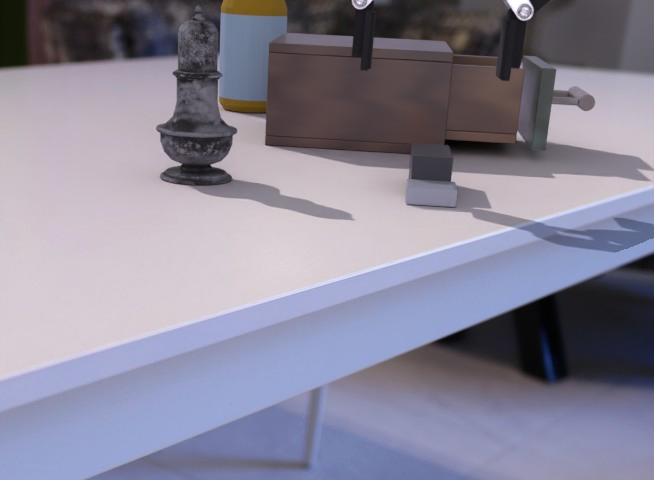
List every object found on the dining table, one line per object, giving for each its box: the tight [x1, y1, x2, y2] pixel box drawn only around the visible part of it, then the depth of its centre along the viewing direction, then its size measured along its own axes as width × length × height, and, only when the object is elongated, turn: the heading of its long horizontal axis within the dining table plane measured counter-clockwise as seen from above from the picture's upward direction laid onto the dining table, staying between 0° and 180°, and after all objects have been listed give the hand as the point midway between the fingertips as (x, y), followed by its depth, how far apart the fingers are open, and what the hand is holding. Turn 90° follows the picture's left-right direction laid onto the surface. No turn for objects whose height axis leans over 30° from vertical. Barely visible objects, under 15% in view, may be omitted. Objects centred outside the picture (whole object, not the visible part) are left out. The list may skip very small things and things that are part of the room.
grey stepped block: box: [404, 143, 458, 208], centre depth 75 cm, size 3×9×3 cm, turn 174°
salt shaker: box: [155, 4, 238, 186], centre depth 75 cm, size 6×6×12 cm
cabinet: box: [264, 32, 455, 155], centre depth 97 cm, size 16×15×9 cm
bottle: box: [218, 0, 288, 114], centre depth 112 cm, size 7×7×15 cm
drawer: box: [445, 54, 596, 151], centre depth 96 cm, size 19×13×7 cm
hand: (433, 73), depth 74 cm, fingers open, 9 cm apart
